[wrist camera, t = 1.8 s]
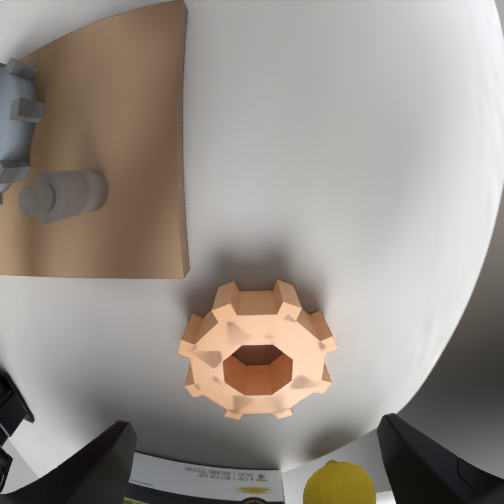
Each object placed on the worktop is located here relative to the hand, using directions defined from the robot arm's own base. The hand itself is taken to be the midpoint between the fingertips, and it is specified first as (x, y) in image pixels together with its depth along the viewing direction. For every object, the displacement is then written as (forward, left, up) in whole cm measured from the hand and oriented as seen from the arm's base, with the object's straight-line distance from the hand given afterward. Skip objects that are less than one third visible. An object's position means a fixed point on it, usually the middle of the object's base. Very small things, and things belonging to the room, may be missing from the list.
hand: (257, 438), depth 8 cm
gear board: (-11, +11, -6) cm, 16 cm away
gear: (0, 0, -6) cm, 6 cm away
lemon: (+6, -13, -6) cm, 16 cm away
